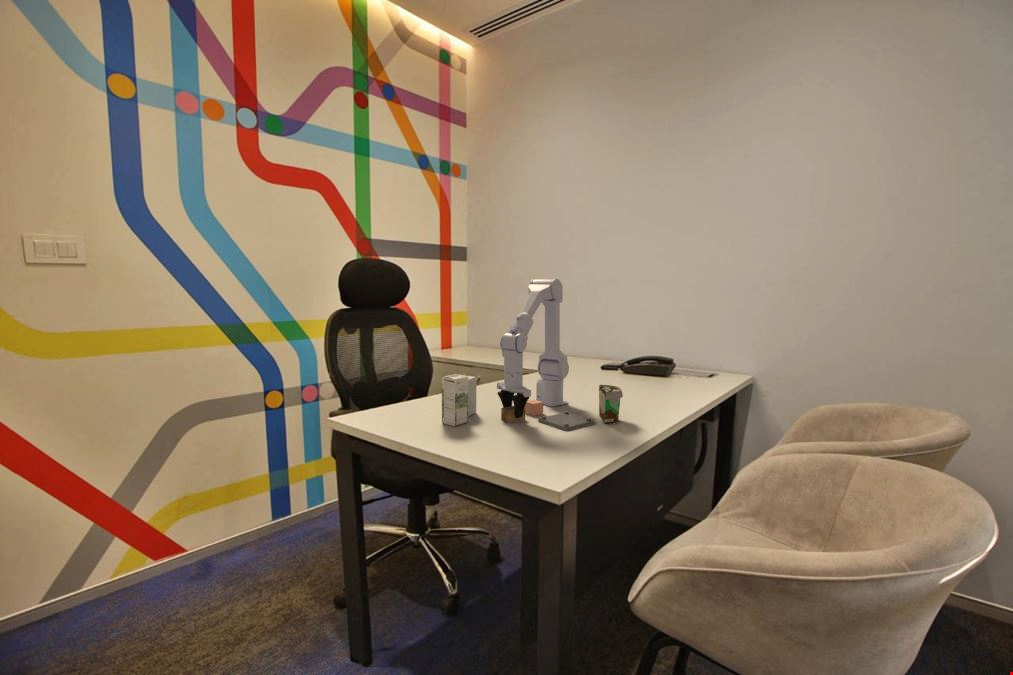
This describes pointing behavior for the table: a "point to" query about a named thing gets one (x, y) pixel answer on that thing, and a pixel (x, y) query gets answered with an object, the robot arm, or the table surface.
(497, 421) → the table surface
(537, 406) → the terracotta block
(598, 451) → the table surface
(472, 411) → the skincare box
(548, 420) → the base plate
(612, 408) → the food container
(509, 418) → the walnut brick
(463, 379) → the syrup box
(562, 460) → the table surface
